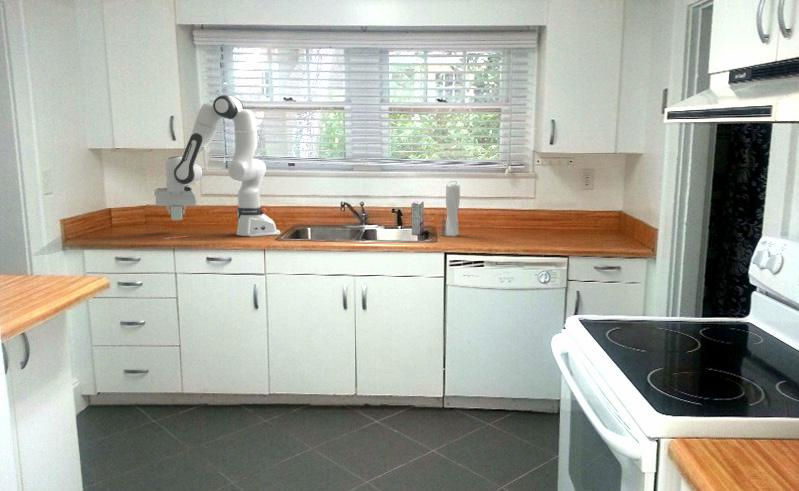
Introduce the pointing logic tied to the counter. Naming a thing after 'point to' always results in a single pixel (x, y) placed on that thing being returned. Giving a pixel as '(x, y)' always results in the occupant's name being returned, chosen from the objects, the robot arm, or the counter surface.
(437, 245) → the counter surface
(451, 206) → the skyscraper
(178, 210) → the sage block
